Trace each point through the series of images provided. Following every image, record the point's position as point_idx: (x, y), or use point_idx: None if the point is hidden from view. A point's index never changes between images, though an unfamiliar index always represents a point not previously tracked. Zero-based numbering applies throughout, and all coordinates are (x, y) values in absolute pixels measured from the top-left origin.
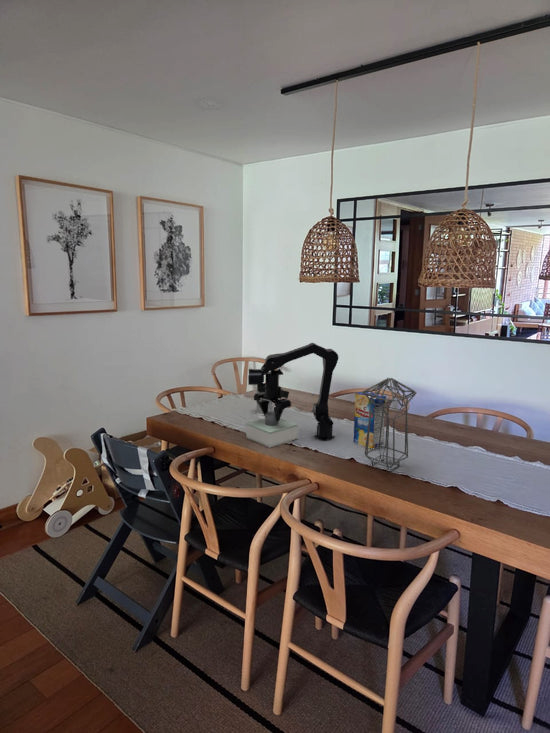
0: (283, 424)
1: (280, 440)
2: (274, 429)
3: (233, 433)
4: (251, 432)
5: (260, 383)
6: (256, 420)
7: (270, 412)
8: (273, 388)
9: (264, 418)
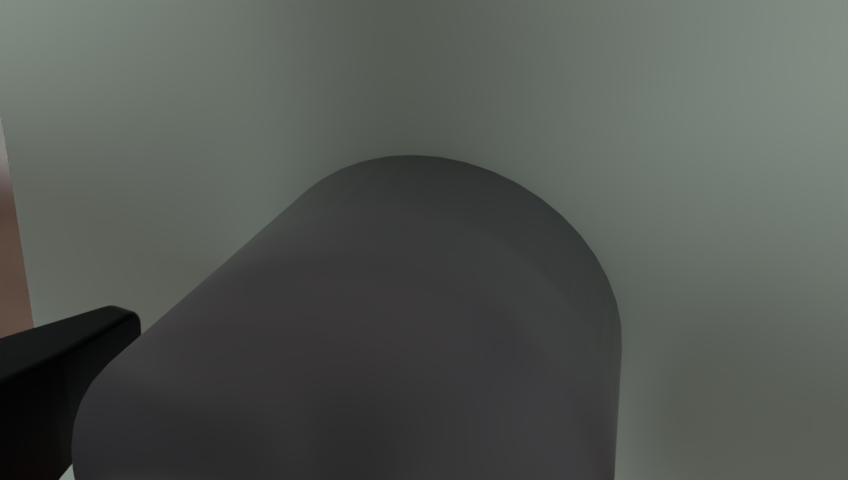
0: (767, 233)
1: None
2: None
3: (6, 293)
4: None
5: None
6: (34, 306)
7: (150, 449)
8: None
9: (4, 83)
